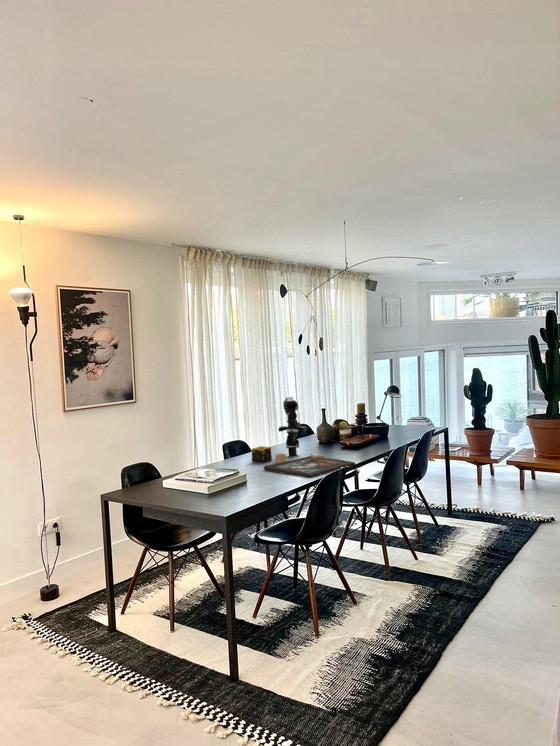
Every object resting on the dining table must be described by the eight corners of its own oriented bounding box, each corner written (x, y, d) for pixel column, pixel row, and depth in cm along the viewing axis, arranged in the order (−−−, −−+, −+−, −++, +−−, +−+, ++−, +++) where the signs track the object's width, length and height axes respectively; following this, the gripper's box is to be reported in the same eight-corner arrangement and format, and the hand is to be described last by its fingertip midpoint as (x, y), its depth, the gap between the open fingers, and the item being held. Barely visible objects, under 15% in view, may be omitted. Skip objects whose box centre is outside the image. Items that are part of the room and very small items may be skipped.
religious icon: (261, 471, 349) (261, 466, 349) (309, 459, 381) (309, 455, 381) (308, 479, 321) (308, 474, 321) (356, 466, 352) (356, 461, 352)
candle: (260, 460, 385) (259, 446, 385) (272, 461, 379) (271, 446, 379) (251, 463, 377) (250, 448, 376) (263, 464, 371) (262, 449, 370)
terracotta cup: (278, 461, 377) (278, 453, 377) (288, 461, 374) (287, 453, 374) (273, 463, 371) (273, 455, 371) (283, 463, 368) (282, 455, 367)
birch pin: (311, 455, 370) (325, 455, 365) (311, 459, 368) (325, 460, 364) (310, 453, 367) (324, 454, 363) (309, 457, 366) (323, 458, 362)
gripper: (309, 417, 378) (310, 440, 379) (285, 417, 387) (286, 439, 388) (302, 419, 369) (303, 442, 369) (277, 419, 377) (278, 442, 378)
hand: (293, 441), depth 376 cm, fingers closed
